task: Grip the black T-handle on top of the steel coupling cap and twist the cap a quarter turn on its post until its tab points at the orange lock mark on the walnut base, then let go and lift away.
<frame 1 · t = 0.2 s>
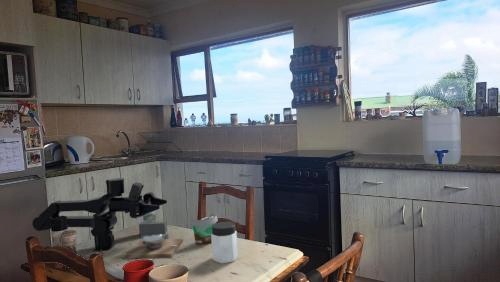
hand: (163, 204, 143), 17 cm above the table, tool horizontal, fingers open, 9 cm apart
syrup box: (149, 234, 162), on the table
food container: (209, 242, 146), on the table
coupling: (154, 231, 140), point 7 cm above the table, hinge at 0.0°
jar: (225, 259, 128), on the table
lock base: (154, 249, 141), on the table
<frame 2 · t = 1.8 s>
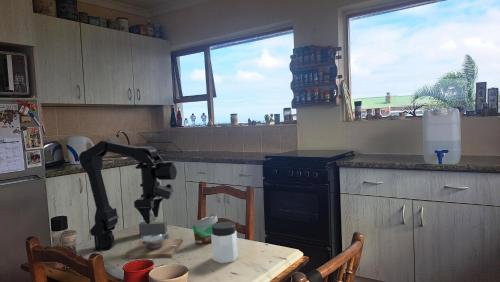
hand: (152, 220, 140), 12 cm above the table, tool pointing down, fingers open, 9 cm apart
nothing on the table moved.
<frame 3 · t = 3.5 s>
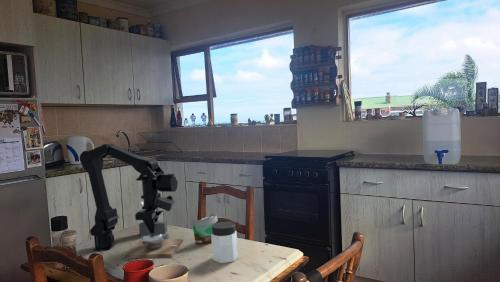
hand: (153, 231, 140), 7 cm above the table, tool pointing down, fingers closed on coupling, 2 cm apart
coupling: (154, 231, 140), point 7 cm above the table, hinge at 0.0°, touching gripper
everything else where it was.
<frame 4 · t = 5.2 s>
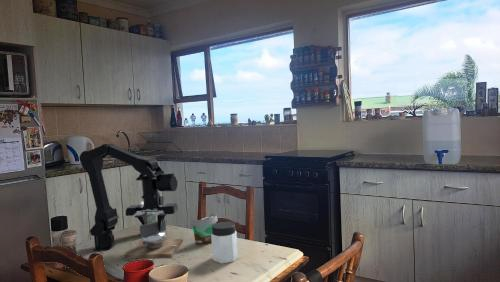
hand: (153, 231, 141), 7 cm above the table, tool pointing down, fingers closed on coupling, 4 cm apart
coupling: (154, 231, 141), point 7 cm above the table, hinge at 55.8°, touching gripper
everything else where it was.
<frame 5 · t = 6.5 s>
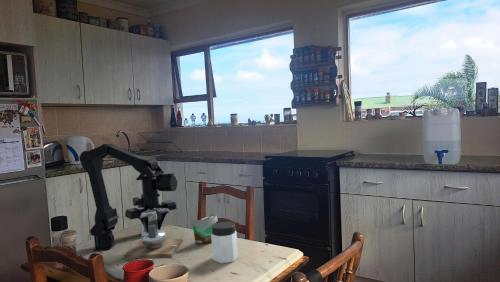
hand: (153, 231, 140), 7 cm above the table, tool pointing down, fingers closed on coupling, 4 cm apart
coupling: (153, 231, 141), point 7 cm above the table, hinge at 103.1°, touching gripper
everything else where it was.
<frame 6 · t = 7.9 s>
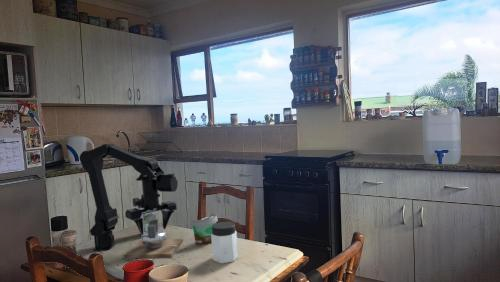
hand: (153, 231, 141), 7 cm above the table, tool pointing down, fingers open, 9 cm apart
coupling: (153, 231, 141), point 7 cm above the table, hinge at 101.5°
everything else where it was.
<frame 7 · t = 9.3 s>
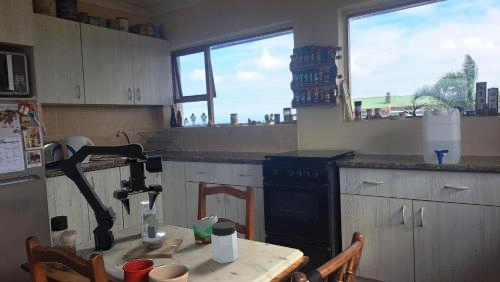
hand: (139, 212, 148), 13 cm above the table, tool pointing down, fingers open, 9 cm apart
nothing on the table moved.
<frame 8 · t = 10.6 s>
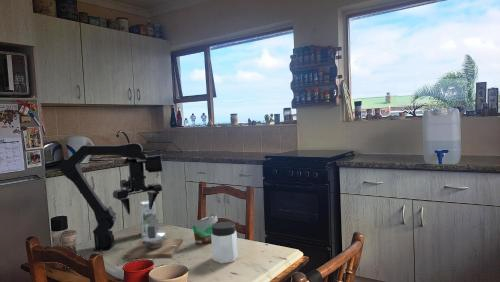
hand: (139, 211, 149), 13 cm above the table, tool pointing down, fingers open, 9 cm apart
nothing on the table moved.
at the end: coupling at +101° (first picture: +0°); the gripper is holding nothing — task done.
